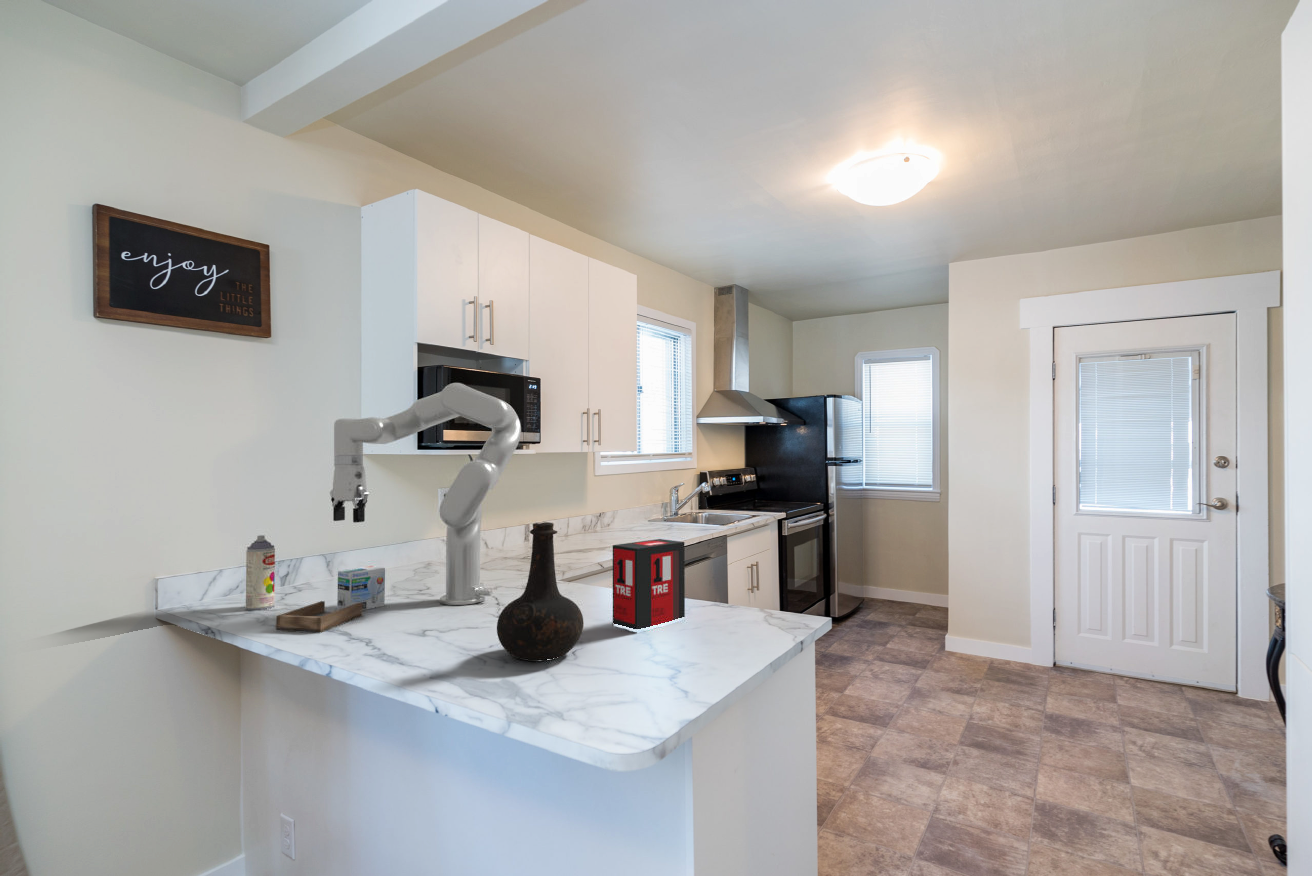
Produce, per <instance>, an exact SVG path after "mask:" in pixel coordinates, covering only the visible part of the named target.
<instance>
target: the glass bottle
mask: <svg viewBox="0 0 1312 876" xmlns="http://www.w3.org/2000/svg"><path fill="white" fill-rule="evenodd" d="M529 534H531V535H532V546H531V557H530V563H529V564H530V566H529V572H528V578H527V583H526V585H525V589H524V592H523V593H522V594H521V595H520V596H519V597H518V598H516V599H514V600H512V601H511V602H509V603H508V604H507V605H506V606H505V607H503V609H502V610H501V612H500V614H499V616H498V619H497V622H496V635H497V638H498V641H499V643H500V644H501V646H502V647H503V649H504V650H505V651H506V652H507V653H509V655H511V656H512V657H514V658H517V659H519V660H523V659H524V660H523V661H528V660H547V659H553V658H557V657H560V656H562V657H564V656H565V655H567V654H568V653H569V652H570V651H571V650H572V649H573V648H574V647H575V645H576V644H578V642H579V640H580V638H581V636H582V633H583V631H584V622H585V621H584V617H583V613H582V611H581V608H580V607H579V606H578V605H577V604H576V603H575V602H574V601H573V600H572V599H570V598H568V597H566V596H564V595H562V594H561V593H560V590H559V587H558V584H557V578H556V575H557V574H556V568H555V567H556V565H555V564H556V563H555V552H554V550H555V548H554V535H556V534H558V531H557V530H556V529H554V523H553V522H547V521H546V522H540V523H539V522H535V523H533V524H532V529H531V530H529ZM563 655H564V656H563ZM560 658H561V657H560ZM557 659H558V658H557Z"/></svg>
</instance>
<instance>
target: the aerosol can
mask: <svg viewBox="0 0 1312 876" xmlns="http://www.w3.org/2000/svg"><path fill="white" fill-rule="evenodd" d="M246 548H247V549H246V553H245V556H246V558H245V559H246V560H245V561H246V562H245V564H246V565H245V568H246V570H245V610H246V611H248V610H258V611H262V610H261V609H265V610H268V609H267V608H270V609H272V608H271V607H273V608H274V607H275V586H276V585H275V580H276V579H275V578H276V577H275V575H276V574H275V572H276V571H275V569H276V561H275V560H276V548H275V545H273V544H272V543H271V542H270V541H268V540H267V539H266V538H265V535H264V534H263V535H262V534H259V535H257V538H256V539H255V540H254V542H251V544H250V546H247V547H246Z"/></svg>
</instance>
